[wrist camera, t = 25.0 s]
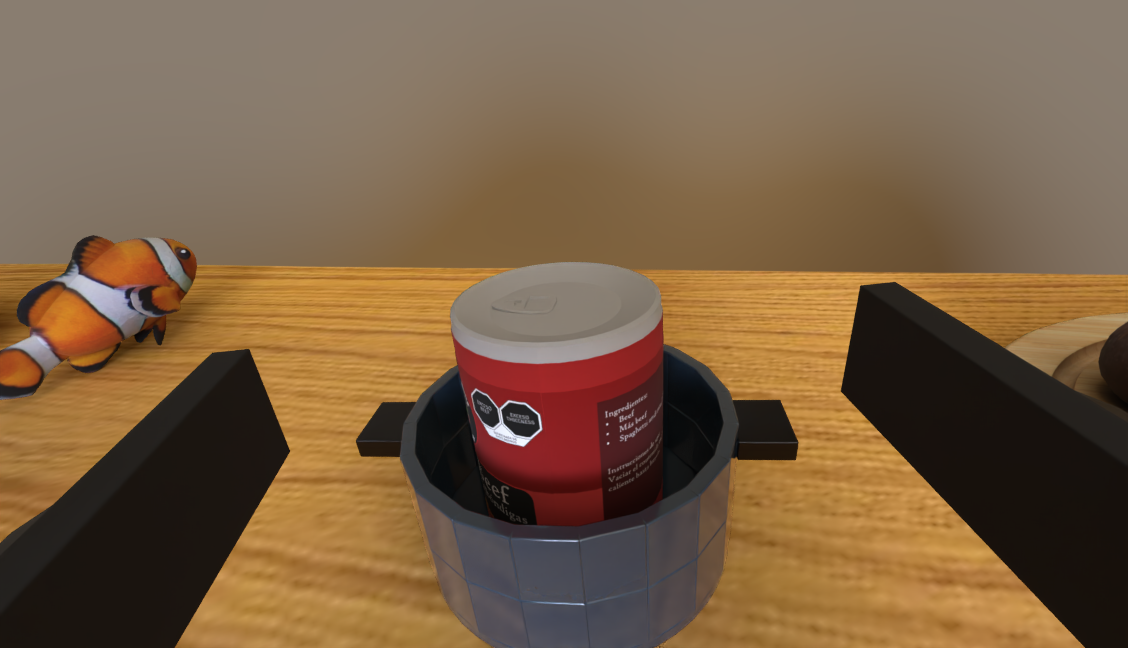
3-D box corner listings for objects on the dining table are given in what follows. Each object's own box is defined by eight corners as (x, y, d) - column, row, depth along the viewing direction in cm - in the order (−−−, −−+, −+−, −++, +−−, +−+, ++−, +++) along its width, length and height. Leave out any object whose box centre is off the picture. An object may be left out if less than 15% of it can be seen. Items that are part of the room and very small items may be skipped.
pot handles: (796, 460, 21) (799, 442, 20) (360, 457, 23) (354, 440, 23) (778, 416, 23) (780, 399, 23) (386, 417, 25) (381, 401, 25)
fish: (254, 304, 51) (202, 204, 45) (51, 446, 37) (-61, 325, 31) (181, 298, 54) (124, 204, 48) (-32, 426, 40) (-146, 314, 34)
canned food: (490, 468, 28) (453, 273, 23) (638, 445, 29) (633, 250, 24) (491, 598, 21) (439, 362, 16) (686, 565, 22) (693, 327, 17)
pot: (758, 679, 18) (776, 546, 15) (383, 656, 20) (336, 533, 17) (706, 429, 30) (711, 328, 27) (475, 428, 32) (456, 334, 29)
